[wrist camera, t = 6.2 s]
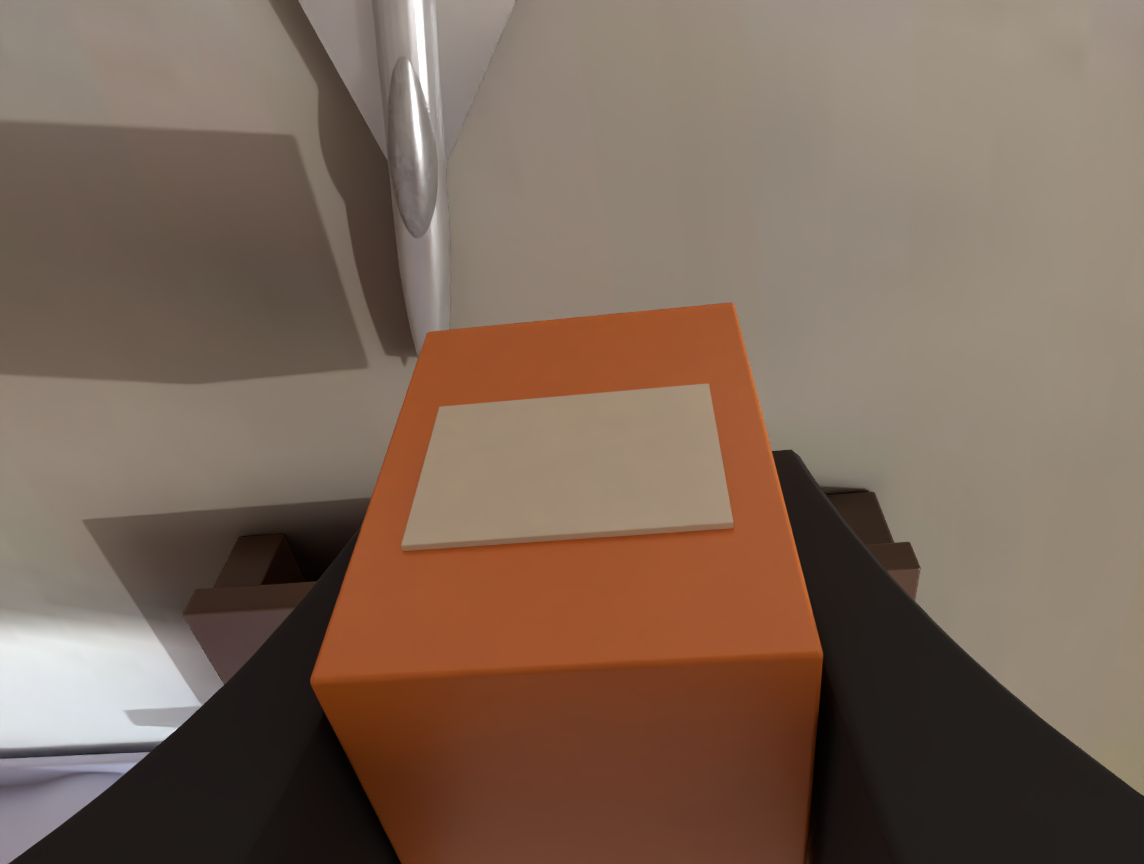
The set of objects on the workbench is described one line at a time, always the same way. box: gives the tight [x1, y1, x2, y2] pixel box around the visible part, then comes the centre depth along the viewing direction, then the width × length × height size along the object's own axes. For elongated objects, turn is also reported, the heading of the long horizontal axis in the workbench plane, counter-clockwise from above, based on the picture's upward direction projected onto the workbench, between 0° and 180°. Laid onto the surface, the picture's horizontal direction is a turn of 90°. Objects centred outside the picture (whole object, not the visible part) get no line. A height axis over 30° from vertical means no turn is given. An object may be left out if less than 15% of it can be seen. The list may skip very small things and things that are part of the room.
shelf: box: [183, 492, 921, 864], centre depth 21 cm, size 16×9×5 cm, turn 97°
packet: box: [310, 303, 823, 864], centre depth 10 cm, size 4×5×6 cm
